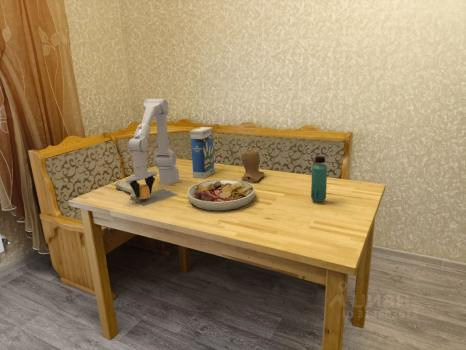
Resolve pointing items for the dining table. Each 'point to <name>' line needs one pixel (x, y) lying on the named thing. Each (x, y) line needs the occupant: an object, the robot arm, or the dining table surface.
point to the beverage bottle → (319, 180)
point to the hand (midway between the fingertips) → (143, 194)
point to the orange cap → (144, 191)
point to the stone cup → (251, 166)
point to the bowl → (221, 194)
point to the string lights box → (202, 152)
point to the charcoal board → (155, 197)
